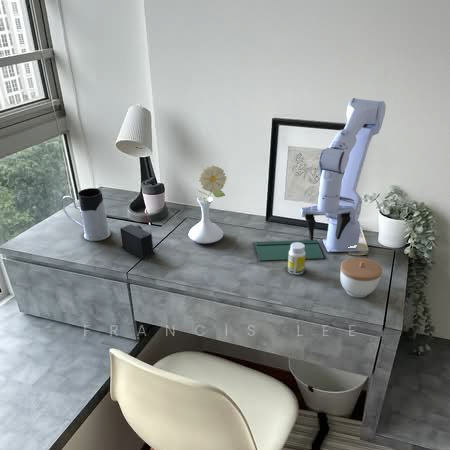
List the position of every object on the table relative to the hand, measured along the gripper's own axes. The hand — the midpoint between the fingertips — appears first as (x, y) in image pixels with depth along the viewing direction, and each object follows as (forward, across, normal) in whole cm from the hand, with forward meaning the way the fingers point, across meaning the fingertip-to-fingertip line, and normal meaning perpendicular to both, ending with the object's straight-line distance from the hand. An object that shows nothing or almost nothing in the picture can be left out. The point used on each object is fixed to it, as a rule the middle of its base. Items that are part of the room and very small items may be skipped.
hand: (324, 238), depth 139 cm
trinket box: (+10, +7, -14) cm, 18 cm away
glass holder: (+10, -73, +26) cm, 78 cm away
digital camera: (+10, -55, +14) cm, 58 cm away
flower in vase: (+10, -33, +20) cm, 40 cm away
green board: (+9, -8, +10) cm, 16 cm away
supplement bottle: (+10, -8, -2) cm, 13 cm away
